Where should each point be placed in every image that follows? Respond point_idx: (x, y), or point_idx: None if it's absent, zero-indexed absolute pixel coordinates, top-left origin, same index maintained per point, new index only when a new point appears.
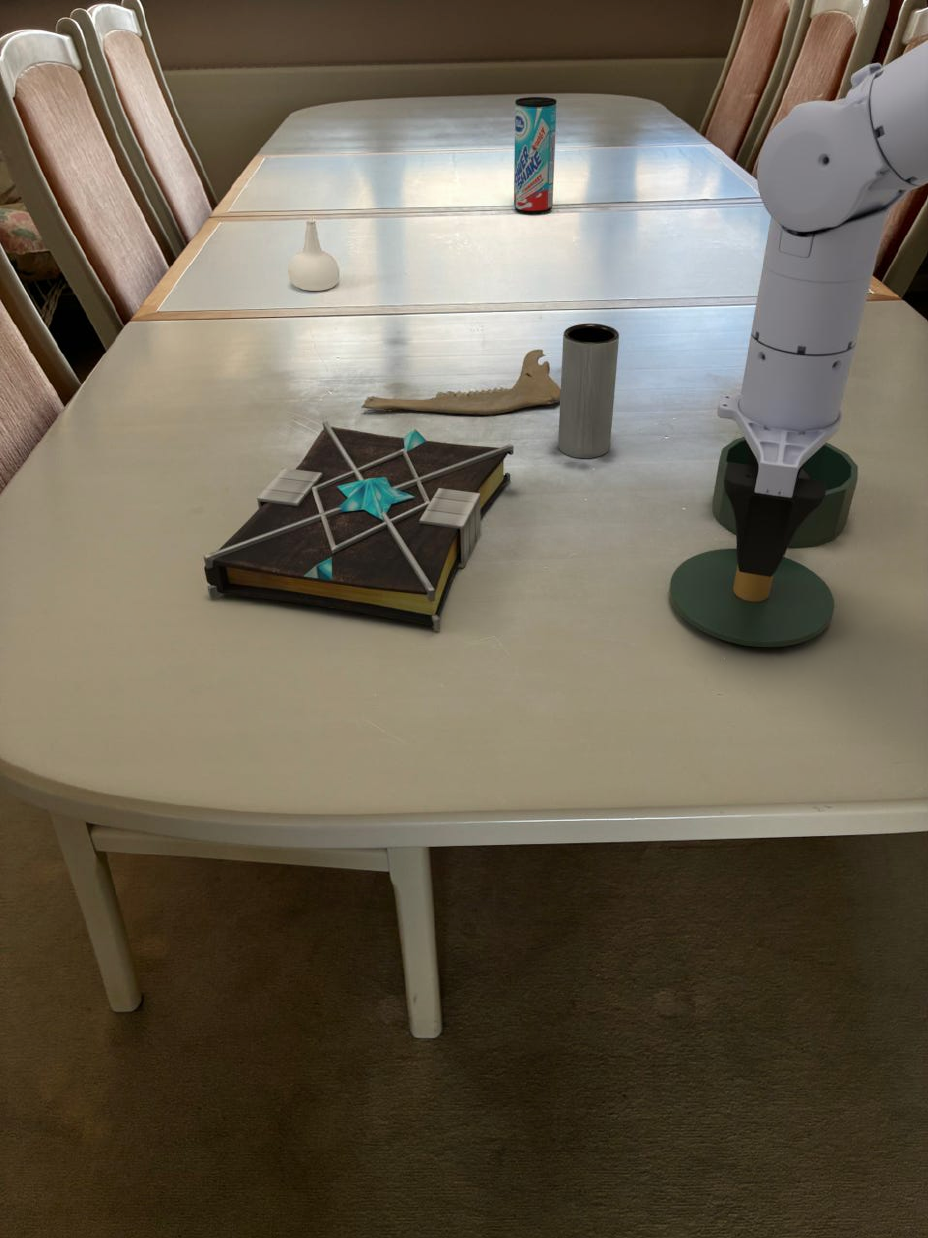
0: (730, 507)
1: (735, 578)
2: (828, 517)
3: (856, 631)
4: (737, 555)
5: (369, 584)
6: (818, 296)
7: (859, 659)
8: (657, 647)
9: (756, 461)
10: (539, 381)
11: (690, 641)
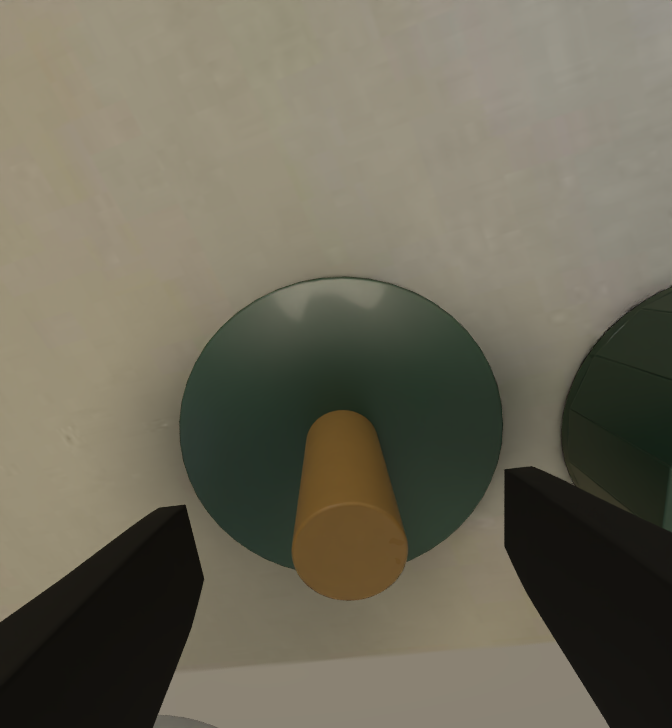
0: (654, 340)
1: (328, 425)
2: None
3: None
4: (118, 536)
5: None
6: None
7: (269, 599)
8: (131, 308)
9: (655, 606)
10: None
11: (181, 360)
